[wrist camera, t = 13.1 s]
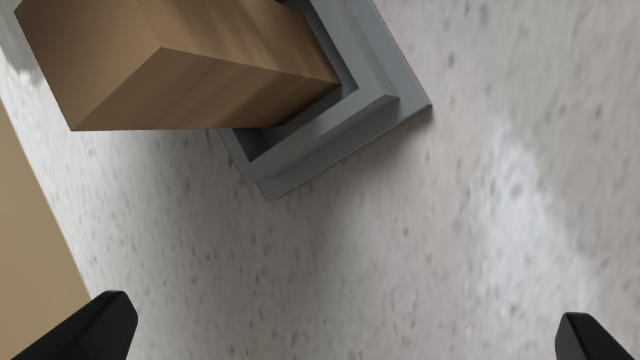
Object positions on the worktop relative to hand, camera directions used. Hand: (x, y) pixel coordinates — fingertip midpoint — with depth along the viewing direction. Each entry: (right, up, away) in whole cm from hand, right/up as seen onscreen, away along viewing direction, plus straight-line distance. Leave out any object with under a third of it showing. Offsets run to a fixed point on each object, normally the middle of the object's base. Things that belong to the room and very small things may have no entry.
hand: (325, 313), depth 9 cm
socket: (-1, +8, +14) cm, 17 cm away
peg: (-2, +8, +13) cm, 16 cm away
